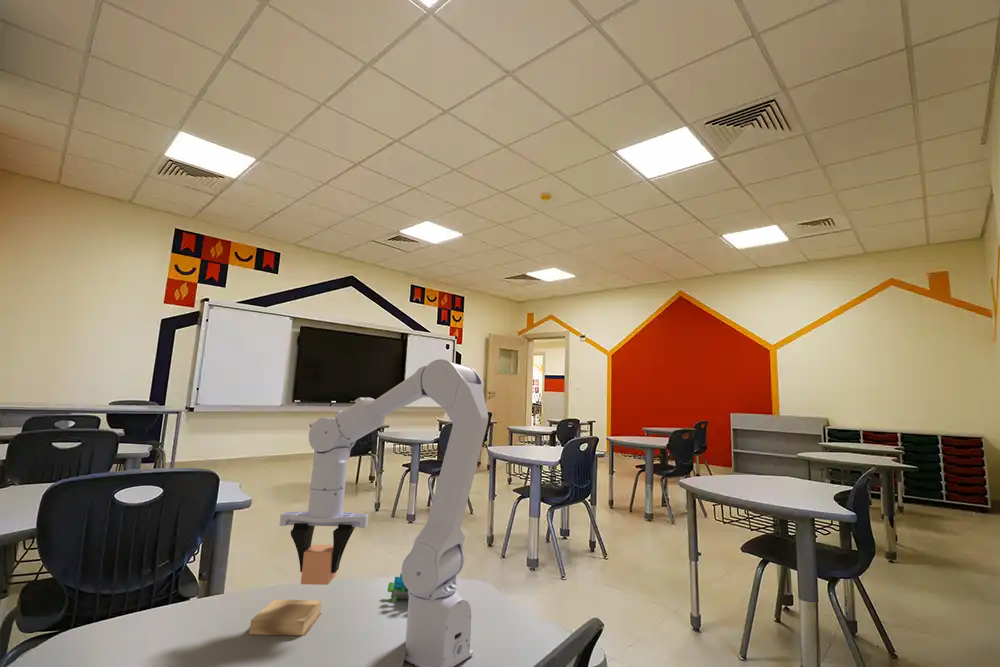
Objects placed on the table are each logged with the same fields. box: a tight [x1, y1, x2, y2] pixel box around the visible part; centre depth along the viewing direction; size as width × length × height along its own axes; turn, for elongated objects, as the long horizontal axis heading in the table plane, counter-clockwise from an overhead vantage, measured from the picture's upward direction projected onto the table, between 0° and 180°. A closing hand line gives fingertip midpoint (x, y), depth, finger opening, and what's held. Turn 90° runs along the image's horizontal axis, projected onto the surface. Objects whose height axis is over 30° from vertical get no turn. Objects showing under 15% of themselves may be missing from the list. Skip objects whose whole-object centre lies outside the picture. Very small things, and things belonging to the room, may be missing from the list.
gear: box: [387, 572, 409, 603], centre depth 84 cm, size 11×6×10 cm
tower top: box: [249, 599, 322, 636], centre depth 74 cm, size 8×8×2 cm
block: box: [300, 543, 337, 586], centre depth 78 cm, size 4×4×5 cm
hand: (319, 570), depth 78 cm, fingers closed on block, 4 cm apart
